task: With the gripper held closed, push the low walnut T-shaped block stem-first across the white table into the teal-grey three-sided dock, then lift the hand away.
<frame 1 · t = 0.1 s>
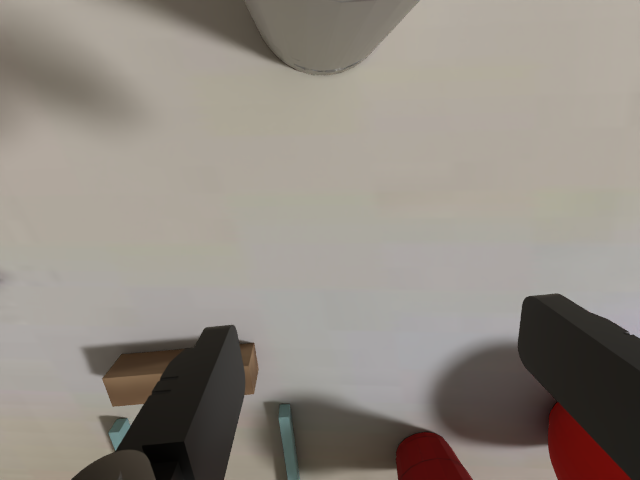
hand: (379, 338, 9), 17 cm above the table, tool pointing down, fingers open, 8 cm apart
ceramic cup: (590, 397, 34), on the table
t block: (200, 395, 31), on the table
plastic cup: (420, 450, 35), on the table
dock: (217, 464, 34), on the table
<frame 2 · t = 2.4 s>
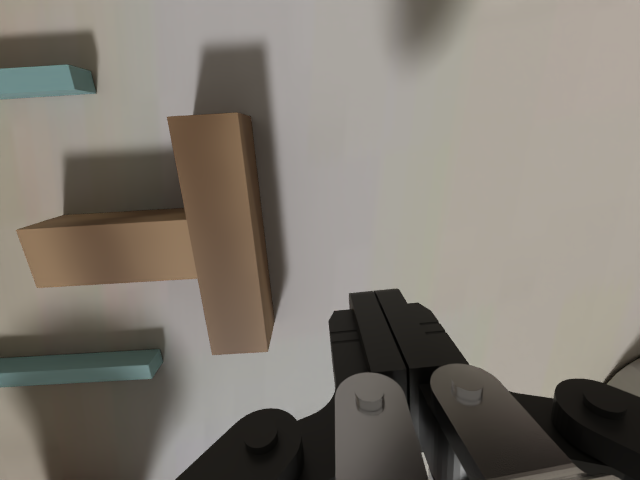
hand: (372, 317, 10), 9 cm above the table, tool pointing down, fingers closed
t block: (167, 234, 18), on the table
dock: (0, 245, 18), on the table
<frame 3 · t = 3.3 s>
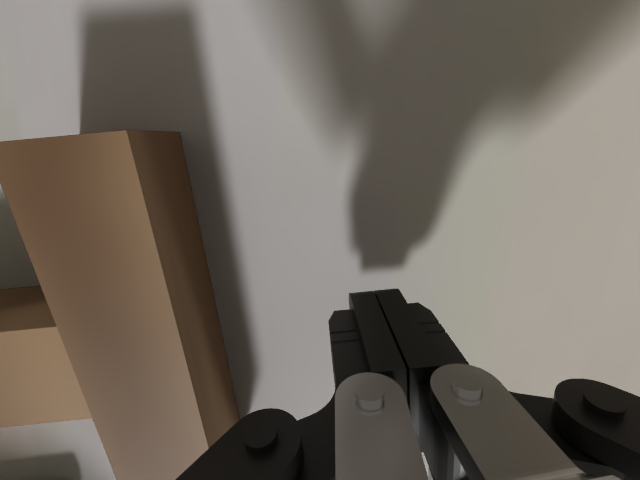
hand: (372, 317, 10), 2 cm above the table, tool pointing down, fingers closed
t block: (63, 322, 12), on the table
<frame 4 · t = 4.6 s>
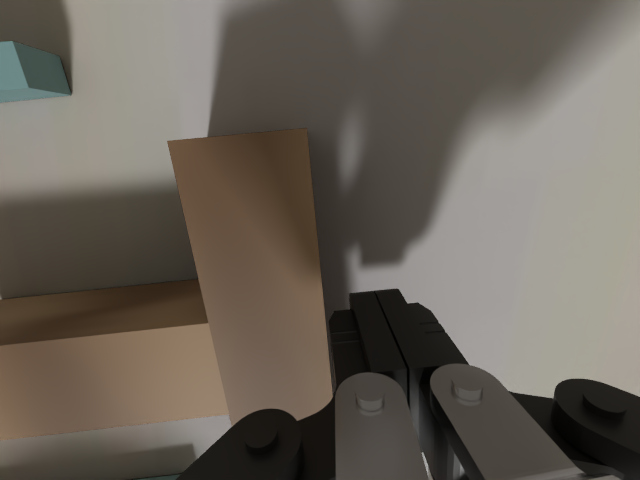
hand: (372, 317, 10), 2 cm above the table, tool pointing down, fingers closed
t block: (169, 320, 12), on the table, touching gripper
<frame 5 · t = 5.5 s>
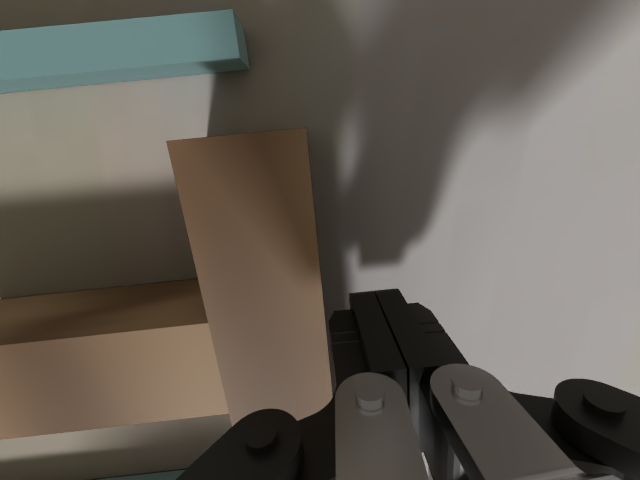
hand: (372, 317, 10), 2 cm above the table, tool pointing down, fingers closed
t block: (169, 320, 12), on the table, touching gripper
dock: (73, 324, 11), on the table
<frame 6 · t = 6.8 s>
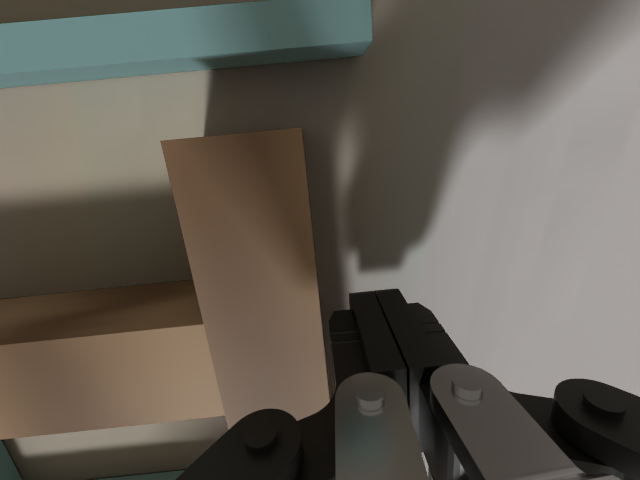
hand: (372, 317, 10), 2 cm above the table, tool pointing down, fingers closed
t block: (167, 321, 12), on the table, touching gripper
dock: (161, 313, 11), on the table
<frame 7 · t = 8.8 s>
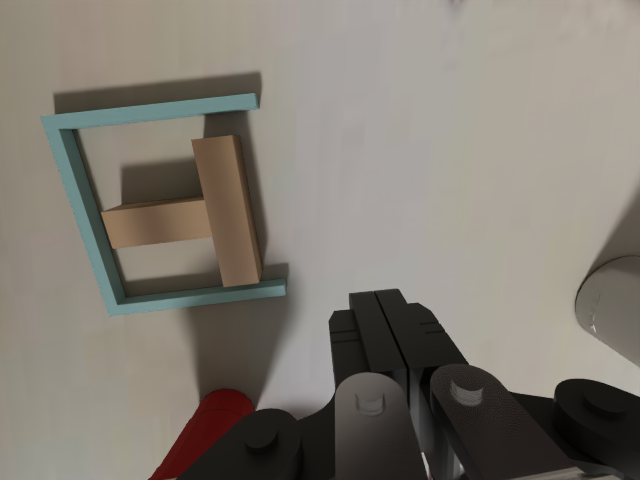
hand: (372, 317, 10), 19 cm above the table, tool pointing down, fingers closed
t block: (189, 214, 28), on the table
plastic cup: (225, 408, 35), on the table
dock: (187, 210, 28), on the table
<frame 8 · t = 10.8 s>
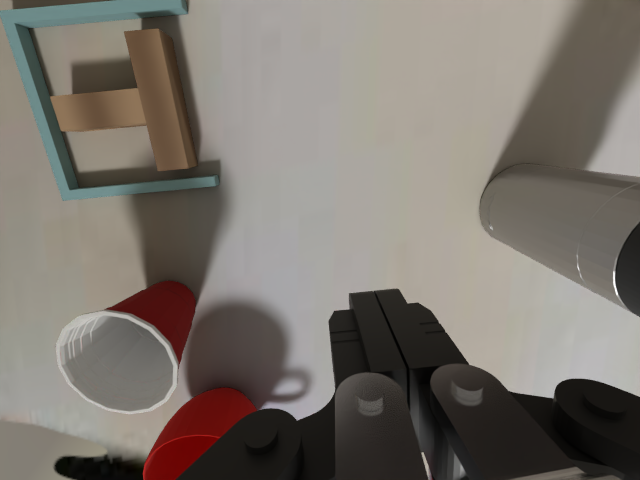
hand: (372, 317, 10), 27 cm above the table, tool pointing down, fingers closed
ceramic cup: (239, 409, 45), on the table
t block: (131, 110, 33), on the table
plastic cup: (171, 300, 39), on the table
dock: (129, 106, 33), on the table
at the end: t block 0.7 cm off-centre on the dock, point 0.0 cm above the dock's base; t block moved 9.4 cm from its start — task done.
